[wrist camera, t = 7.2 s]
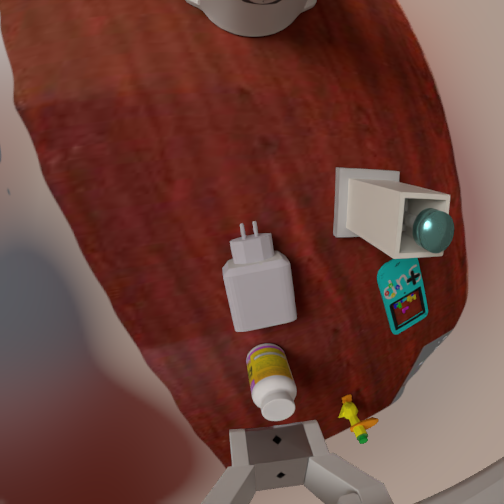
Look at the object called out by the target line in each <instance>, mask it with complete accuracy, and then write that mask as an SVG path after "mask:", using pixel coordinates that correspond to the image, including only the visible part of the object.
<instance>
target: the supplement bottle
mask: <svg viewBox="0 0 504 504" xmlns="http://www.w3.org/2000/svg"><path fill="white" fill-rule="evenodd" d="M246 363H247V370H248V376H249V382H250V387H251V393H252V398H253V401H254V403H255V404H256V405H257V406H258V407H260V408H261V411H262V415H263V416H264V417H265V418H266V419H268V420H271V421H280V420H284V419H286V418H288V417H290V416H291V415H292V414H293V412H294V410H295V404H294V399H295V397H296V393H297V389H296V385H295V382H294V379H293V377H292V374H291V371H290V368H289V365H288V362H287V359H286V356H285V353H284V351H283V350H282V349H281V348H280V347H279V346H277V345H275V344H270V343H265V344H261V345H258V346H256V347H254V348H253V349H252V350H251V351H250V352H249V353H248V355H247V359H246Z"/></svg>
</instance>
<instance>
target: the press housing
mask: <svg viewBox="0 0 504 504" xmlns="http://www.w3.org/2000/svg"><path fill="white" fill-rule="evenodd" d="M399 173H400V172H398V171H390V170H376V169H359V168H338V167H336V185H335V210H334V229H333V235H334V236H335V237H361V238H363V239H364V240H366V241H367V242H369V243H370V244H372V245H374V246H375V247H377V248H378V249H380V250H381V251H383V252H384V253H386V254H387V255H389V256H390V257H392V258H393V259H402V258H419V257H434V256H443V251H442V252H440V253H431V252H429V251H427V250H426V249H424V248H422V247H420V246H419V245H417V243H416V242H415V240H414V238H413V232H412V230H413V229H412V228H410V227H408V226H406V231H402V224H403V213H404V201H405V198H409V203H408V212H409V213H412V214H414V215H418V214H419V213H420V212H421V211H422V210H424V209H426V208H434V209H437V210H440V211H443V212H446V213H447V214H449V205H450V195H448V194H445V193H441V192H437V191H433V190H429V189H426V188H422V187H417V186H413V185H409V184H405V183H401V182H399Z"/></svg>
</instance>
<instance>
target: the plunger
mask: <svg viewBox="0 0 504 504" xmlns="http://www.w3.org/2000/svg"><path fill="white" fill-rule="evenodd" d="M408 203H409V198H405V201H404V213H403V224H402V231H406V226H408V227H410V228H412V229H413V230H412V232H413V238H414V240H415V242H416V243H417V245H419V246H420V247H422V248H424V249H426V250H427V251H429V252H431V253H440V252H442V251H444V250H445V249H446V248H447V247H448V246H449V244H450V243H451V241H452V238H453V235H454V223H453V220H452V218H451V217H450V215H449V214H447V213H446V212H443V211H440V210H437V209H434V208H426V209H424V210H422V211H421V212H420V213H419V214H418V215H414V214H412V213H409V212H408Z"/></svg>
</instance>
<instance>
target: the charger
mask: <svg viewBox="0 0 504 504" xmlns="http://www.w3.org/2000/svg"><path fill="white" fill-rule="evenodd" d="M252 223H253V229H254V235H248V236H246V235H245V229H244V224H242V223H241V224H240V229H241V235H242V237H240V238H237V239H234V240H231V241H230V246H231V251H232V256H233V259H231V260H228V261H227V263H226V264H225V265H224V267H223V268H222V269H223V278H224V283H225V288H226V292H227V297H228V301H229V306H230V310H231V315H232V319H233V323H234V328H235V331H237V332H245V331H250V330H255V329H260V328H265V327H270V326H275V325H279V324H284V323H288V322H291V321H294V320H296V319H297V314H296V305H295V297H294V289H293V282H292V274H291V266H290V262H289V260H288V259H287V257H286V256H285V255H283V254H282V253H280V252H279V251H274V249H273V243H272V236H271V233H262V234H258V229H257V223H256V221H253V222H252Z"/></svg>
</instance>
